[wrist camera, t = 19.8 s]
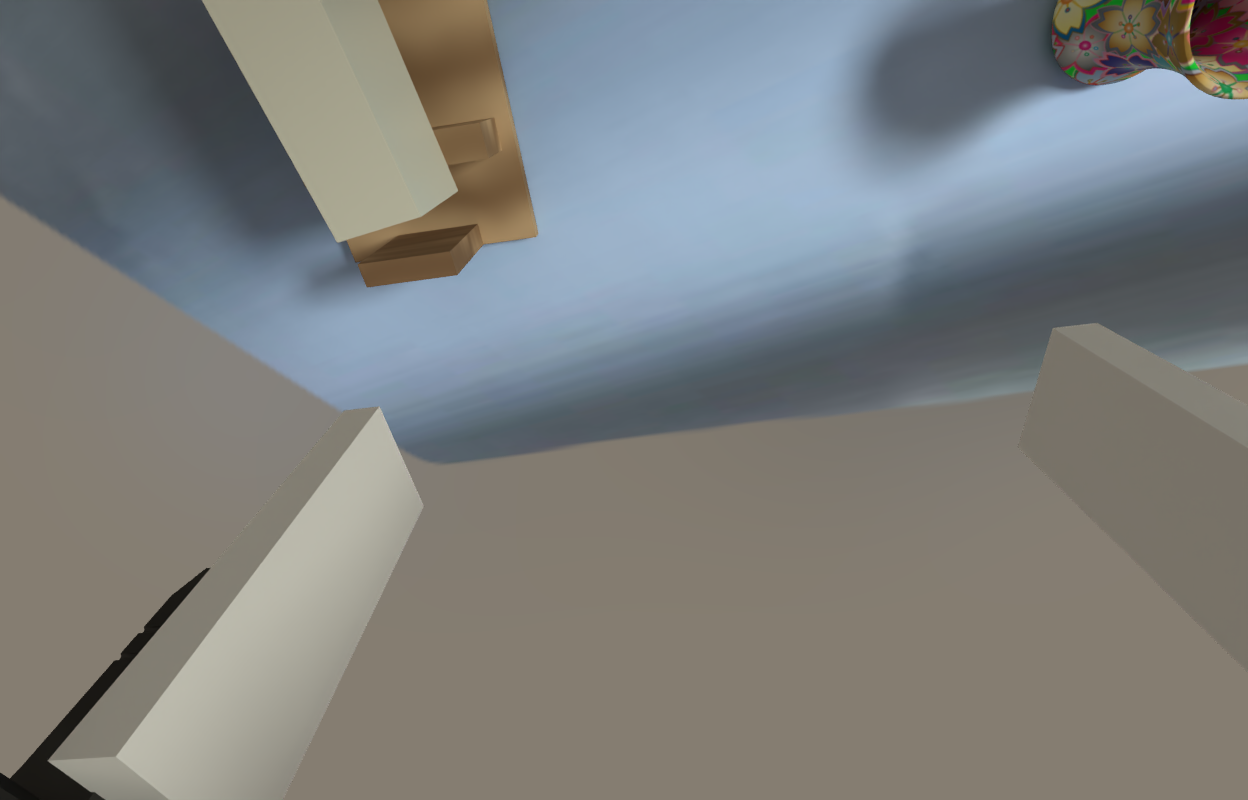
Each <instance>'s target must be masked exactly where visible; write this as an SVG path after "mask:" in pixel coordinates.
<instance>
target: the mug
mask: <svg viewBox="0 0 1248 800" xmlns="http://www.w3.org/2000/svg"><path fill="white" fill-rule="evenodd" d="M1051 40H1052V48H1053V52H1054V55H1055V58H1056V60H1057V62H1058V64H1059V66H1060V67H1061V69H1062V70H1063V71H1064V72H1065V73H1066V74H1067V75H1068V76H1070V77H1071V78H1073V79H1075V80H1077V81H1079V82H1082V83H1085V84H1089V85H1106V84H1112V83H1116V82H1120V81H1123V80H1126V79H1128V78H1131V77H1133V76H1135V75H1137V74H1139V73H1141V72H1143V71H1144V70H1146V69H1152V68H1162V69H1168V70H1172V71H1175V72H1178V73H1180V74H1182V75H1183V76H1185V77H1186V78H1187V79H1188V80H1189V81H1190V82H1191V83H1192V84H1193V85H1194V86H1196V87H1197V88H1198V89H1200V90H1201V91H1203V92H1205V93H1207V94H1209V95H1212V96H1215V97H1219V98H1224V99H1248V0H1058V2H1057V5H1056V8H1055V12H1054V16H1053V21H1052V31H1051Z"/></svg>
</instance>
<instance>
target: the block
mask: <svg viewBox="0 0 1248 800" xmlns="http://www.w3.org/2000/svg"><path fill="white" fill-rule="evenodd" d="M202 1H203V3H204V5H205V7H206V9H207V10H208V12H209V14H210V16H211V18H212V19H213V21H214V23H215V25H216V26H217V28H218V30H219V32H220V34H221V35H222V37H223V39H224V41H225V43H226V44H227V46H228V48H229V50H230V52H231V53H232V55H233V57H234V59H235V60H236V62H237V64H238V66H239V68H240V69H241V71H242V73H243V75H244V77H245V78H246V80H247V82H248V84H249V85H250V87H251V89H252V91H253V93H254V94H255V96H256V98H257V100H258V102H259V103H260V105H261V107H262V109H263V111H264V112H265V114H266V116H267V118H268V119H269V121H270V123H271V125H272V127H273V128H274V130H275V132H276V134H277V136H278V137H279V139H280V141H281V143H282V145H283V146H284V148H285V150H286V152H287V153H288V155H289V157H290V159H291V161H292V162H293V164H294V166H295V168H296V170H297V171H298V173H299V175H300V177H301V179H302V180H303V182H304V184H305V186H306V187H307V189H308V191H309V193H310V195H311V196H312V198H313V200H314V202H315V204H316V205H317V207H318V209H319V211H320V213H321V214H322V216H323V218H324V220H325V221H326V223H327V225H328V227H329V229H330V230H331V232H332V234H333V236H334V238H335V239H336V241H337V243H338V242H341V241H345V240H348V239H351V238H354V237H358V236H361V235H364V234H367V233H370V232H374V231H377V230H380V229H383V228H387V227H390V226H393V225H396V224H399V223H403V222H406V221H409V220H412V219H416V218H419V217H422V216H423V215H425V214H426V213H427V212H429V211H430V210H432V209H433V208H435V207H436V206H437V205H439V204H440V203H442V202H443V201H445V200H446V199H448V198H449V197H450V196H452V195H453V194H455V193H456V192H458V189H457V187H456V184H455V182H454V180H453V177H452V175H451V172H450V170H449V168H448V165H447V163H446V161H445V158H444V156H443V153H442V151H441V149H440V146H439V144H438V142H437V139H436V137H435V135H434V132H433V130H432V127H431V125H430V123H429V120H428V118H427V116H426V113H425V111H424V108H423V106H422V104H421V101H420V99H419V97H418V94H417V92H416V90H415V87H414V85H413V82H412V80H411V78H410V75H409V73H408V71H407V68H406V66H405V63H404V61H403V59H402V56H401V54H400V52H399V49H398V47H397V45H396V42H395V40H394V37H393V35H392V33H391V30H390V28H389V26H388V23H387V21H386V18H385V16H384V14H383V11H382V9H381V7H380V4H379V2H378V0H202Z"/></svg>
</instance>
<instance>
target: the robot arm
mask: <svg viewBox="0 0 1248 800" xmlns="http://www.w3.org/2000/svg"><path fill="white" fill-rule="evenodd" d="M1018 448H1019V449H1020V450H1021V451H1022V452H1023V453H1024V454H1025V455H1026V456H1027V457H1028V458H1029V459H1030V460H1031V461H1032V462H1033V463H1034V464H1035V465H1036V466H1037V467H1039V469H1040V470H1041V471H1042V472H1043V473H1045V474H1046V475H1047V476H1048V477H1049V478H1050V479H1051V480H1052V481H1053V482H1054V483H1055V484H1056V485H1057V486H1058V487H1059V488H1060V489H1061V490H1062V491H1063V492H1064V493H1065V494H1066V495H1067V496H1068V497H1069V498H1070V499H1071V500H1072V501H1073V502H1074V503H1075V504H1076V505H1077V506H1078V507H1079V508H1080V509H1081V510H1082V511H1083V512H1084V513H1085V514H1086V515H1087V516H1088V517H1089V518H1090V519H1092V521H1094V522H1095V524H1097V525H1098V526H1099V527H1100V528H1101V529H1102V530H1103V531H1104V532H1105V533H1106V534H1107V535H1108V536H1109V537H1110V538H1111V539H1112V540H1113V541H1114V542H1115V543H1116V544H1117V545H1118V546H1119V547H1120V548H1121V549H1122V550H1123V551H1124V552H1125V553H1126V554H1127V555H1128V556H1129V557H1130V558H1131V559H1132V560H1133V561H1134V562H1135V563H1136V564H1137V565H1138V566H1139V567H1140V568H1141V569H1142V570H1144V572H1145V573H1147V574H1148V576H1150V577H1151V578H1152V579H1153V580H1154V581H1155V582H1156V583H1157V584H1158V585H1159V586H1160V587H1161V588H1162V589H1163V590H1164V591H1165V592H1166V593H1167V594H1168V595H1169V596H1170V597H1171V598H1172V599H1173V600H1174V601H1175V602H1176V603H1177V604H1178V605H1179V606H1180V607H1181V608H1182V609H1183V610H1184V611H1185V612H1186V613H1187V614H1188V615H1189V616H1190V617H1191V618H1192V619H1193V620H1194V621H1195V622H1197V624H1198V625H1199V626H1200V627H1202V628H1203V629H1204V630H1205V631H1206V632H1207V633H1208V634H1209V635H1210V636H1211V637H1212V638H1213V639H1214V640H1215V641H1216V642H1217V643H1218V644H1219V645H1220V646H1221V647H1222V648H1223V649H1224V650H1225V651H1226V652H1227V653H1228V654H1229V655H1230V656H1231V657H1232V658H1233V659H1234V660H1235V661H1236V662H1237V663H1238V664H1239V665H1240V666H1241V667H1242V668H1243V669H1244V670H1245V671H1246V672H1247V673H1248V405H1246V404H1244V403H1242V402H1241V401H1239V400H1237V399H1235V398H1233V397H1231V396H1230V395H1228V394H1226V393H1224V392H1222V391H1221V390H1219V389H1217V388H1215V387H1213V386H1211V385H1209V384H1208V383H1206V382H1204V381H1202V380H1200V379H1199V378H1197V377H1195V376H1193V375H1191V374H1189V373H1188V372H1186V371H1184V370H1182V369H1180V368H1178V367H1177V366H1175V365H1173V364H1171V363H1169V362H1167V361H1166V360H1164V359H1162V358H1160V357H1158V356H1156V355H1155V354H1153V353H1151V352H1149V351H1147V350H1145V349H1144V348H1142V347H1140V346H1138V345H1136V344H1134V343H1133V342H1131V341H1129V340H1127V339H1125V338H1123V337H1122V336H1120V335H1118V334H1116V333H1114V332H1112V331H1111V330H1109V329H1107V328H1105V327H1103V326H1101V325H1100V324H1098V323H1093V324H1084V325H1076V326H1067V327H1059V328H1053V330H1052V333H1051V336H1050V340H1049V343H1048V347H1047V350H1046V353H1045V357H1044V360H1043V363H1042V367H1041V370H1040V373H1039V377H1038V380H1037V384H1036V387H1035V390H1034V394H1033V397H1032V401H1031V404H1030V407H1029V411H1028V414H1027V418H1026V421H1025V424H1024V428H1023V431H1022V434H1021V437H1020V441H1019V444H1018ZM422 508H423V504H422V501H421V499H420V497H419V494H418V492H417V490H416V488H415V485H414V483H413V481H412V479H411V476H410V474H409V472H408V470H407V468H406V465H405V463H404V461H403V458H402V456H401V454H400V452H399V449H398V447H397V445H396V443H395V441H394V438H393V436H392V434H391V432H390V429H389V427H388V425H387V423H386V420H385V418H384V416H383V414H382V411H381V409H380V407H371V408H362V409H354V410H345V411H343V413H342V414H341V415H340V416H339V417H338V419H337V420H336V421H335V422H334V423H333V424H332V426H331V427H330V428H329V429H328V430H327V431H326V433H325V434H324V435H323V436H322V437H321V439H320V440H319V441H318V442H317V443H316V444H315V446H314V447H313V448H312V449H311V451H310V452H309V453H308V454H307V455H306V456H305V458H304V459H303V460H302V461H301V462H300V463H299V465H298V466H297V467H296V468H295V469H294V470H293V472H292V473H291V474H290V475H289V476H288V478H287V479H286V480H285V481H284V482H283V483H282V485H281V486H280V487H279V488H278V489H277V491H276V492H275V493H274V494H273V495H272V497H271V498H270V499H269V500H268V501H267V502H266V504H265V505H264V506H263V507H262V508H261V509H260V511H259V512H258V513H257V514H256V515H255V517H254V518H253V519H252V520H251V521H250V522H249V524H248V525H247V526H246V527H245V528H244V529H243V531H242V532H241V533H240V534H239V535H238V537H237V538H236V539H235V540H234V542H232V544H231V545H230V546H229V547H228V548H227V550H226V551H225V552H224V553H223V554H222V555H221V557H220V558H219V559H218V560H217V561H216V563H215V564H214V565H213V566H212V567H211V568H206V569H205V570H203V571H202V572H201V573H200V574H198V575H197V576H196V577H195V578H193V579H192V580H191V581H190V582H188V583H187V584H186V585H184V586H183V587H182V588H181V589H179V590H178V591H177V592H176V593H174V594H173V595H172V596H171V597H170V598H169V599H168V600H167V601H166V602H165V604H164V605H163V606H162V607H161V608H160V609H159V611H158V612H157V613H156V614H155V615H154V616H153V617H152V618H151V620H150V621H149V622H148V623H147V624H146V625H145V626H144V629H145V630H144V632H143V633H139V634H137V636H136V637H135V638H134V639H133V640H132V641H131V642H130V643H129V645H128V646H127V647H126V648H125V649H124V650H123V651H122V653H121V658H120V660H116V661H114V662H113V663H112V664H111V665H110V666H109V668H108V669H107V670H106V671H105V672H104V673H103V674H102V675H101V677H100V678H99V679H98V680H97V681H96V682H95V683H94V685H93V686H92V687H91V688H90V689H89V690H88V691H87V693H86V694H85V695H84V696H83V697H82V698H81V699H80V700H79V702H78V703H77V704H76V705H75V707H73V708H72V710H71V711H70V712H69V713H68V714H67V715H66V716H65V718H64V719H63V720H62V721H61V722H60V723H59V724H58V726H57V727H56V728H55V729H54V730H53V731H52V732H51V734H50V735H49V736H48V737H47V738H46V739H45V740H44V742H43V743H42V744H41V745H40V746H39V747H38V748H37V749H36V751H35V752H34V753H33V754H32V755H31V756H30V757H29V759H28V760H27V761H26V762H25V763H24V764H23V765H22V767H21V768H20V769H19V770H18V771H17V772H16V773H15V774H14V775H13V776H12V777H11V778H10V779H9V778H7V777H6V776H5V775H3V774H2V773H0V800H283V798H284V796H285V794H286V792H287V790H288V788H289V786H290V784H291V781H292V779H293V777H294V775H295V773H296V771H297V769H298V767H299V765H300V763H301V761H302V759H303V757H304V754H305V752H306V750H307V748H308V746H309V744H310V742H311V740H312V738H313V736H314V734H315V731H316V729H317V727H318V725H319V723H320V721H321V719H322V717H323V715H324V713H325V711H326V709H327V707H328V704H329V702H330V700H331V698H332V696H333V694H334V692H335V690H336V688H337V686H338V684H339V682H340V679H341V677H342V675H343V673H344V671H345V669H346V667H347V665H348V663H349V661H350V659H351V656H352V654H353V652H354V650H355V648H356V646H357V644H358V642H359V640H360V638H361V636H362V634H363V632H364V629H365V627H366V625H367V623H368V621H369V619H370V617H371V615H372V613H373V611H374V609H375V606H376V604H377V602H378V600H379V598H380V596H381V594H382V592H383V590H384V588H385V586H386V584H387V581H388V579H389V577H390V575H391V573H392V571H393V569H394V567H395V565H396V563H397V561H398V558H399V556H400V554H401V552H402V550H403V548H404V546H405V544H406V542H407V540H408V538H409V536H410V533H411V531H412V529H413V527H414V525H415V523H416V521H417V519H418V517H419V514H420V513H421V510H422Z"/></svg>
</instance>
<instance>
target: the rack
mask: <svg viewBox="0 0 1248 800" xmlns="http://www.w3.org/2000/svg"><path fill="white" fill-rule="evenodd" d="M378 2H379V4H380V7H381V9H382V11H383V14H384V16H385V18H386V21H387V23H388V26H389V28H390V30H391V33H392V35H393V37H394V40H395V42H396V45H397V47H398V49H399V52H400V54H401V56H402V59H403V61H404V63H405V66H406V68H407V71H408V73H409V75H410V78H411V80H412V82H413V85H414V87H415V90H416V92H417V94H418V97H419V99H420V101H421V104H422V106H423V108H424V111H425V113H426V116H427V118H428V120H429V123H430V125H431V127H432V130H433V132H434V135H435V137H436V139H437V142H438V144H439V146H440V149H441V151H442V153H443V156H444V158H445V161H446V163H447V165H448V168H449V170H450V172H451V175H452V177H453V180H454V182H455V184H456V187H457V189H458V192H456V193H455V194H453V195H452V196H450V197H449V198H448V199H446V200H445V201H443V202H442V203H440V204H439V205H437V206H436V207H435V208H433V209H432V210H430V211H429V212H427V213H426V214H425V215H423V216H422V217H419V218H416V219H412V220H409V221H406V222H403V223H399V224H396V225H393V226H390V227H387V228H383V229H380V230H377V231H374V232H370V233H367V234H364V235H361V236H358V237H354V238H351V239H348V240H347V242H348V245H349V247H350V250H351V252H352V255H353V257H354V260H355V262H360V263H359V264H358V267H359V269H360V272H361V274H362V277H363V279H364V282H365V284H366V287H373V286H380V285H388V284H395V283H402V282H410V281H417V280H424V279H432V278H439V277H446V276H454V275H458V274H459V272H460V271H461V270H462V269H463V268H464V267H465V265H466V264H467V263H468V262H469V261H470V260H471V258H472V257H473V256H474V255H475V254H476V253H477V251H478V250H479V249H480V248H481V247H482V246H483V244H489V243H496V242H503V241H510V240H518V239H525V238H532V237H536V236H537V235H538V230H537V225H536V221H535V216H534V212H533V207H532V203H531V198H530V193H529V189H528V184H527V180H526V175H525V171H524V166H523V162H522V157H521V153H520V148H519V144H518V139H517V135H516V130H515V126H514V121H513V116H512V112H511V107H510V103H509V98H508V94H507V89H506V85H505V80H504V76H503V71H502V67H501V62H500V58H499V53H498V48H497V44H496V39H495V35H494V30H493V26H492V21H491V17H490V12H489V8H488V3H487V0H378ZM303 183H304V182H303ZM304 185H305V184H304ZM305 187H306V186H305ZM361 261H362V262H361Z"/></svg>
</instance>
